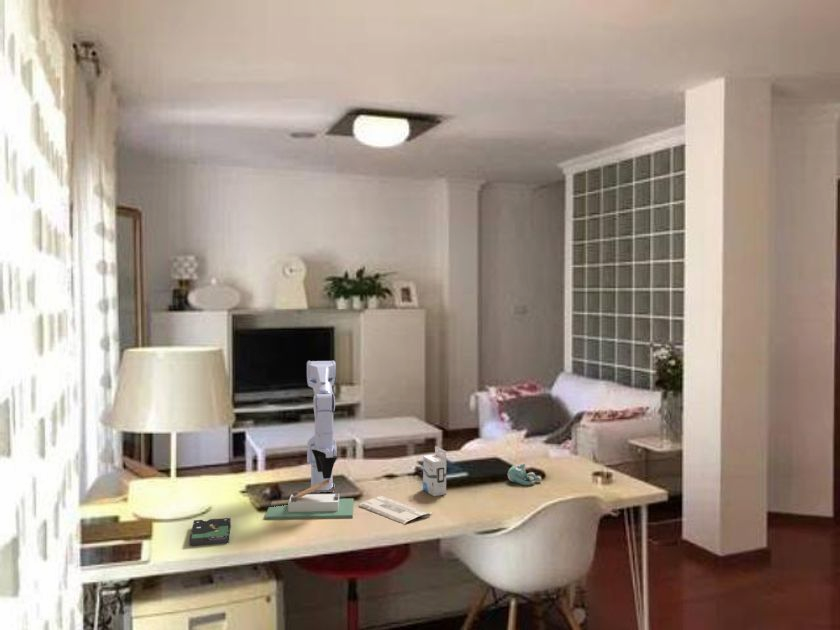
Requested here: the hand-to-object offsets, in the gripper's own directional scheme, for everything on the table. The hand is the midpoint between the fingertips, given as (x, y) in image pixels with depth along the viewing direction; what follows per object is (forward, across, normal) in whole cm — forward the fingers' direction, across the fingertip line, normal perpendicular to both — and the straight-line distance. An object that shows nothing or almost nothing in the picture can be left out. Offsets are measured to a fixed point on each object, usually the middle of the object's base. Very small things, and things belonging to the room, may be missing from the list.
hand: (324, 474), depth 215 cm
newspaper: (+11, +11, +20) cm, 25 cm away
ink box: (+10, -2, +38) cm, 40 cm away
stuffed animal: (+11, -2, +73) cm, 74 cm away
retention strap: (+4, +2, -4) cm, 6 cm away
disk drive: (+11, +13, -35) cm, 39 cm away
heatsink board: (+10, +2, -4) cm, 11 cm away
